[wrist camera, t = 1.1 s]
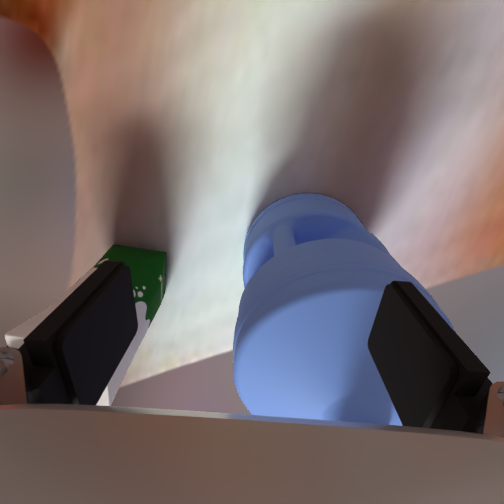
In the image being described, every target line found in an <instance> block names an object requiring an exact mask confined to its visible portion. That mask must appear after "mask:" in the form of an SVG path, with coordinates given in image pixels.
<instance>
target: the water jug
mask: <svg viewBox="0 0 504 504" xmlns="http://www.w3.org/2000/svg"><path fill="white" fill-rule="evenodd" d="M243 280H244V287H245V289H244V292H243V294H242V297H241V300H240V305H239V313H238V318H237V322H236V326H235V334H234V343H233V361H234V362H233V375H234V381H235V385H236V389H237V391H238V394H239V396H240V398H241V400H242V402H243V403H244V405H245V406H246V408H247V409H248V410H249V411H250V412H251V413H252V415H260V416H274V417H288V418H303V419H317V420H330V421H344V422H357V423H371V424H384V425H398V426H403V425H402V423H401V421H400V418H399V416H398V414H397V412H396V410H395V407H394V405H393V403H392V401H391V398H390V396H389V394H388V392H387V390H386V387H385V385H384V383H383V381H382V378H381V376H380V374H379V372H378V370H377V367H376V365H375V363H374V361H373V358H372V356H371V354H370V352H369V349H368V338H369V335H370V332H371V329H372V326H373V323H374V320H375V317H376V314H377V311H378V308H379V305H380V301H381V298H382V295H383V292H384V289H385V287H386V285H387V284H390V283H391V282H392V281H407V282H411V283H413V285H414V286H415V287H416V288H417V289H418V290H419V291H420V293H421V294H422V295H423V296H424V297H425V298H426V299H427V301H428V302H429V303H430V304H431V305H432V306H433V307H434V309H435V310H436V311H437V312H438V313H439V314H440V315H441V317H442V318H443V319H444V320H445V321H446V322H447V323H448V325H449V326H450V327H451V328H452V329H453V330H454V328H453V326H452V324H451V322H450V321H449V319H448V318H447V316H446V315H445V314H444V312H443V311H442V310H441V309H440V307H439V306H438V304H437V303H436V301H435V300H434V299H433V297H432V296H431V295H430V294H429V293H428V291H427V290H426V289H425V288H424V287H423V286H422V285H421V284H420V283H419V282H418V281H417V280H416V279H415V278H414V277H413V276H412V275H411V274H409V273H408V272H407V271H406V270H404V269H403V268H402V267H401V266H400V265H399V264H398V262H397V261H396V260H395V259H394V258H393V257H392V256H391V255H390V254H389V252H388V251H387V249H386V248H385V246H384V245H383V244H382V243H381V242H380V241H379V240H378V239H377V238H376V237H375V236H374V235H373V234H372V233H370V232H369V231H368V230H367V229H366V228H365V227H364V226H363V225H362V223H361V222H360V220H359V219H358V217H357V216H356V215H355V214H354V213H353V212H352V211H351V210H350V209H349V208H348V207H347V206H345V205H344V204H342V203H341V202H339V201H338V200H336V199H333V198H331V197H328V196H325V195H320V194H313V193H303V194H296V195H291V196H288V197H285V198H282V199H280V200H278V201H276V202H274V203H272V204H271V205H269V206H268V207H267V208H265V209H264V210H263V211H262V212H261V213H260V214H259V215H258V216H257V217H256V219H255V220H254V222H253V223H252V225H251V226H250V228H249V231H248V233H247V236H246V239H245V245H244V265H243ZM454 331H455V330H454Z"/></svg>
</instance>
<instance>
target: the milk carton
mask: <svg viewBox="0 0 504 504" xmlns="http://www.w3.org/2000/svg"><path fill="white" fill-rule="evenodd" d="M106 260H110V261H123V262H124V263H125V266H129V268H130V272H131V279H132V286H133V292H134V299H135V306H136V313H137V320H138V329H137V333H136V335H135V337H134V338H133V340H132V342H131V344H130V346H129V347H128V349H127V351H126V353H125V354H124V356H123V358H122V360H121V362H120V363H119V365H118V367H117V369H116V371H115V372H114V374H113V376H112V378H111V380H110V381H109V383H108V385H107V387H106V388H105V390H104V392H103V394H102V396H101V397H100V399H99V401H98V403H97V405H100V406H111V404H112V401H113V399H114V397H115V395H116V393H117V391H118V388H119V386H120V384H121V382H122V380H123V378H124V376H125V374H126V371H127V369H128V367H129V365H130V363H131V361H132V359H133V357H134V355H135V353H136V351H137V349H138V347H139V345H140V343H141V342H142V340H143V338H144V336H145V334H146V332H147V330H148V328H149V326H150V324H151V322H152V320H153V318H154V316H155V314H156V312H157V310H158V309H159V307H160V305H161V302H162V299H163V297H164V294H165V260H166V252H159V251H153V250H146V249H139V248H133V247H126V246H119V245H113V246H112V247H111V248H110V249H109V250H108V251H107V252H106V253H105V255H104V256H103V257H102V258H101V259H100V260H99V261H98V262H97V263H96V265H95V266H94V267H92V268H91V269H90V270H89V271H88V272H87V273H86V274H85V275H84V276H83V277H82V278H81V279H79V280H78V281H77V282H76V283H75V284H74V285H73V286H72V287H71V288H70V289H69V290H68V291H66V292H65V293H64V294H63V295H62V296H61V297H60V298H59V299H58V300H57V301H56V302H54V303H53V304H52V305H51V306H50V307H48V308H47V309H45V310H44V311H42V312H40V313H39V314H37V315H36V316H34V317H32V318H30V319H29V320H27V321H25V322H24V323H22V324H21V325H19V326H17V327H15V328H14V329H12V330H10V331H9V332H7V333H6V334H5V339H6V342H7V344H8V346H7V347H10V348H15V349H17V350H18V349H19V348H20V347H21V346H22V345H23V344H24V341H23V339H24V338H26V337H27V336H28V335H29V334H30V333H31V332H32V331H33V330H34V329H35V328H36V327H37V326H38V325H39V324H40V323H41V322H42V321H43V320H44V319H45V318H46V317H47V316H48V315H49V314H50V313H51V312H52V311H54V310H55V309H56V308H57V307H58V306H59V305H60V304H61V303H62V302H63V301H64V300H65V299H66V298H67V297H68V296H69V295H70V294H71V293H72V292H73V291H74V290H75V289H76V288H77V287H78V286H79V285H80V284H82V283H83V282H84V281H85V280H86V279H87V278H88V277H89V276H90V275H91V274H92V273H93V272H94V271H95V270H96V269H97V268H98V267H99V266H100V265H101V264H102V263H103V262H104V261H106Z"/></svg>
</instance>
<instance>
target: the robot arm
mask: <svg viewBox="0 0 504 504" xmlns="http://www.w3.org/2000/svg"><path fill="white" fill-rule="evenodd" d="M137 329H138V320H137V313H136V306H135V299H134V292H133V286H132V279H131V272H130V268H129V266H125V263H124V262H123V261H110V260H106V261H104V262H103V263H102V264H101V265H100V266H99V267H98V268H97V269H96V270H95V271H94V272H93V273H92V274H91V275H90V276H89V277H88V278H87V279H86V280H85V281H84V282H83V283H82V284H80V285H79V286H78V287H77V288H76V289H75V290H74V291H73V292H72V293H71V294H70V295H69V296H68V297H67V298H66V299H65V300H64V301H63V302H62V303H61V304H60V305H59V306H58V307H57V308H56V309H55V310H54V311H52V312H51V313H50V314H49V315H48V316H47V317H46V318H45V319H44V320H43V321H42V322H41V323H40V324H39V325H38V326H37V327H36V328H35V329H34V330H33V331H32V332H31V333H30V334H29V335H28V336H27V337H26V338H24V339H23V341H24V344H23V345H22V346H21V347H20V348H19V349H18V350H17V349H15V348H10V347H1V348H0V504H504V382H496V383H493V384H492V382H491V381H490V380H489V379H488V378H487V377H488V375H489V374H490V371H489V370H488V369H487V368H486V367H485V366H484V365H483V363H482V362H481V361H480V360H479V359H478V358H477V356H476V355H475V354H474V353H473V352H472V351H471V350H470V349H469V347H468V346H467V345H466V344H465V343H464V342H463V341H462V339H461V338H460V337H459V336H458V335H457V334H456V332H455V331H454V330H453V329H452V328H451V327H450V326H449V325H448V323H447V322H446V321H445V320H444V319H443V318H442V317H441V315H440V314H439V313H438V312H437V311H436V310H435V309H434V307H433V306H432V305H431V304H430V303H429V302H428V301H427V299H426V298H425V297H424V296H423V295H422V294H421V293H420V291H419V290H418V289H417V288H416V287H415V286H414V285H413V283H411V282H407V281H392V282H391V283H390V284H387V285H386V287H385V289H384V292H383V295H382V298H381V301H380V305H379V308H378V311H377V314H376V317H375V320H374V323H373V326H372V329H371V332H370V335H369V338H368V349H369V352H370V354H371V356H372V358H373V361H374V363H375V365H376V367H377V370H378V372H379V374H380V376H381V378H382V381H383V383H384V385H385V387H386V390H387V392H388V394H389V396H390V398H391V401H392V403H393V405H394V407H395V410H396V412H397V414H398V416H399V418H400V421H401V423H402V425H403V426H398V425H384V424H371V423H357V422H344V421H330V420H317V419H303V418H288V417H274V416H260V415H245V414H229V413H214V412H199V411H184V410H168V409H150V408H136V407H121V406H100V405H97V403H98V401H99V399H100V397H101V396H102V394H103V392H104V390H105V388H106V387H107V385H108V383H109V381H110V380H111V378H112V376H113V374H114V372H115V371H116V369H117V367H118V365H119V363H120V362H121V360H122V358H123V356H124V354H125V353H126V351H127V349H128V347H129V346H130V344H131V342H132V340H133V338H134V337H135V335H136V333H137Z"/></svg>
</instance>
